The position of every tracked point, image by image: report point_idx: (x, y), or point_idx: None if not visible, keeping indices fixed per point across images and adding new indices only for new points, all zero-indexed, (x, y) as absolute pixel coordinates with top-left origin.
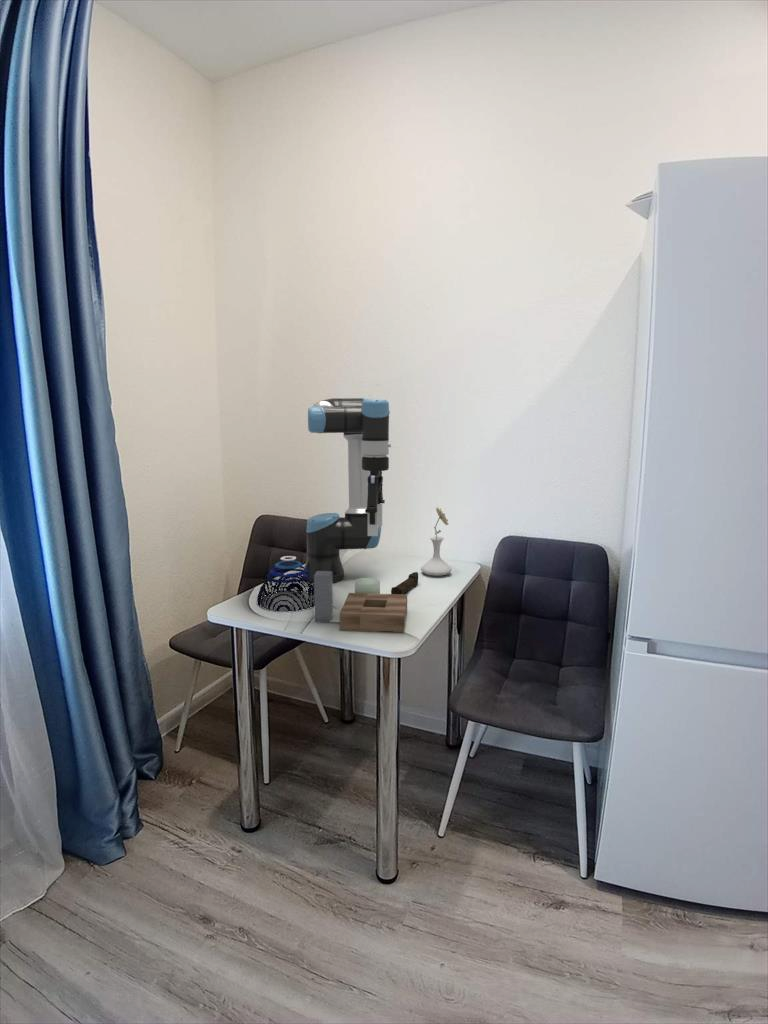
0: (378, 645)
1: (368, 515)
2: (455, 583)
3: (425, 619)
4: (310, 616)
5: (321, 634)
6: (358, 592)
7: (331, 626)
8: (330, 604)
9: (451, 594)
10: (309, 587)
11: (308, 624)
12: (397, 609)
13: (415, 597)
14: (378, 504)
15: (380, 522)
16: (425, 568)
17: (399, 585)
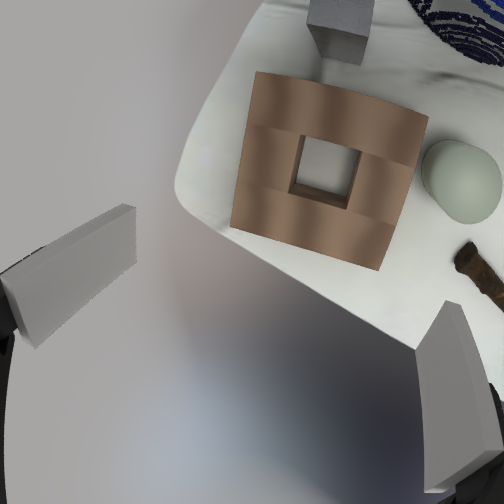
0: (186, 154)
1: (19, 269)
2: None
3: (311, 273)
4: None
5: (247, 39)
6: (444, 148)
7: (294, 58)
8: (327, 49)
9: None
10: (462, 15)
11: None
12: (270, 220)
13: (447, 290)
14: (446, 477)
15: (423, 360)
16: None
17: (481, 273)
